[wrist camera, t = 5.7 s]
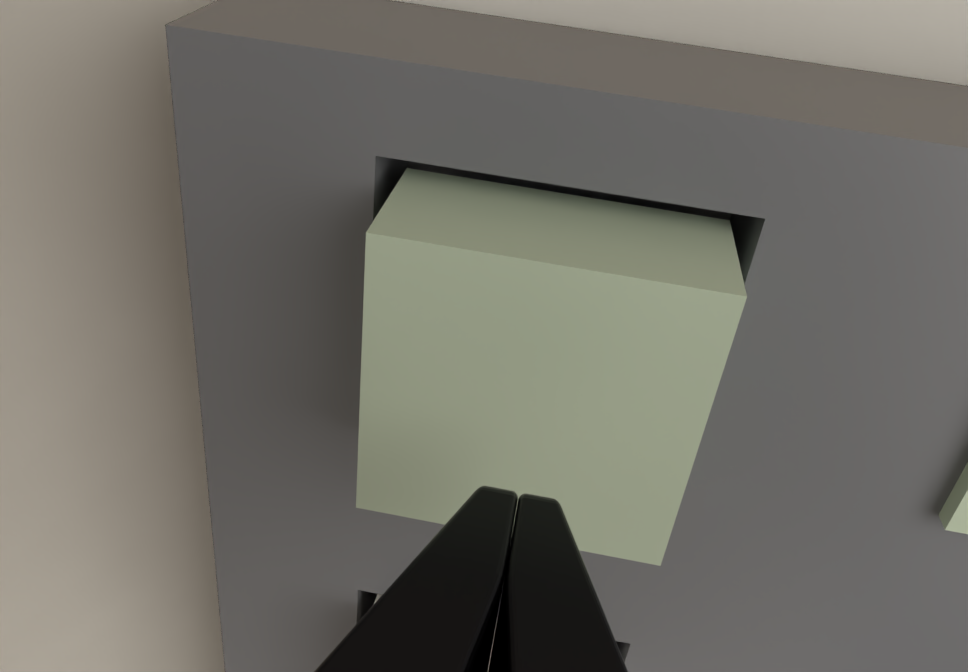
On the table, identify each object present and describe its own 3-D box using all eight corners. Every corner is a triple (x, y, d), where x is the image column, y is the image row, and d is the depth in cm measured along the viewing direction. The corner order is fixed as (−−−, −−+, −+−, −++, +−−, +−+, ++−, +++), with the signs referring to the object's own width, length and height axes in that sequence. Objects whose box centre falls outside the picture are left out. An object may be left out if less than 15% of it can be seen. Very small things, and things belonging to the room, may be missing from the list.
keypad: (762, 915, 24) (778, 1058, 21) (287, 811, 25) (244, 936, 22) (1248, 127, 12) (1441, 229, 9) (259, -19, 13) (153, 30, 10)
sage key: (656, 468, 13) (660, 565, 11) (391, 419, 13) (356, 507, 12) (729, 220, 11) (746, 296, 9) (407, 168, 11) (366, 232, 9)
